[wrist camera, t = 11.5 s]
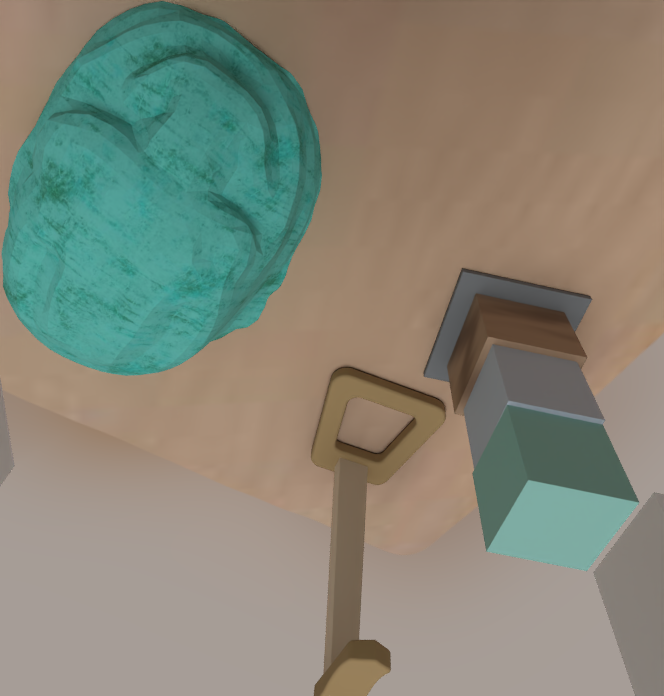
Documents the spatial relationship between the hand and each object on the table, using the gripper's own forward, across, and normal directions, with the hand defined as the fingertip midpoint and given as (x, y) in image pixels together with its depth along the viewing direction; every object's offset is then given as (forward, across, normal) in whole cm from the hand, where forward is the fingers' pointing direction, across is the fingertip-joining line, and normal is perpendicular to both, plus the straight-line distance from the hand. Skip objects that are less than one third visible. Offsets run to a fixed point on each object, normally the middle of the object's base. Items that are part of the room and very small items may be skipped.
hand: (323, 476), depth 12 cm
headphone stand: (+32, +7, -26) cm, 42 cm away
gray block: (+25, +15, -14) cm, 32 cm away
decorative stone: (+32, -13, -10) cm, 36 cm away
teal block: (+19, +15, -14) cm, 28 cm away
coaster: (+32, +15, -14) cm, 38 cm away
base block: (+31, +15, -14) cm, 37 cm away
